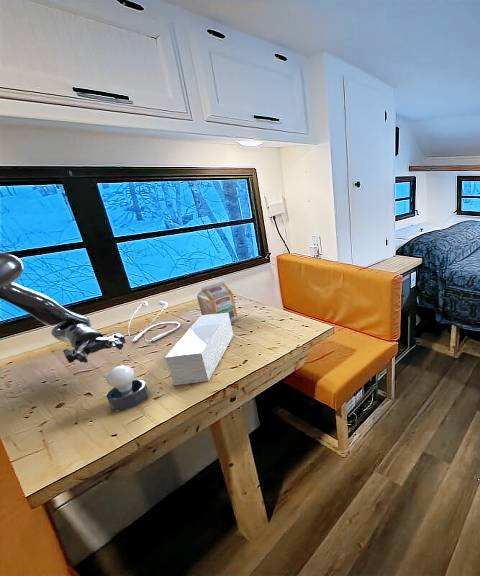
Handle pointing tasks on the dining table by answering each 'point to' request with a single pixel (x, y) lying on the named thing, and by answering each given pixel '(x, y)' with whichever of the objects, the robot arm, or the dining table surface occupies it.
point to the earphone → (151, 322)
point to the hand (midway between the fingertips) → (103, 352)
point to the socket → (131, 400)
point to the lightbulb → (121, 379)
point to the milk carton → (217, 300)
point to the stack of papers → (200, 349)
